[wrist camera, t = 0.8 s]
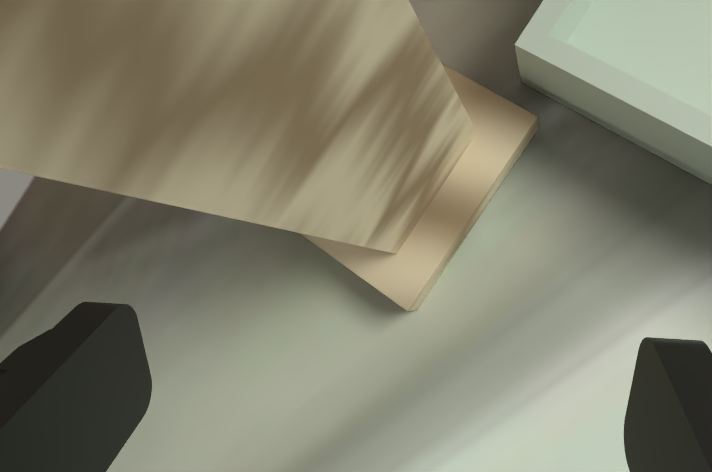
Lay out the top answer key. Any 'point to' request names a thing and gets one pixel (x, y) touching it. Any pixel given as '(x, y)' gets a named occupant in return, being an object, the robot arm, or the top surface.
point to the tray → (629, 70)
